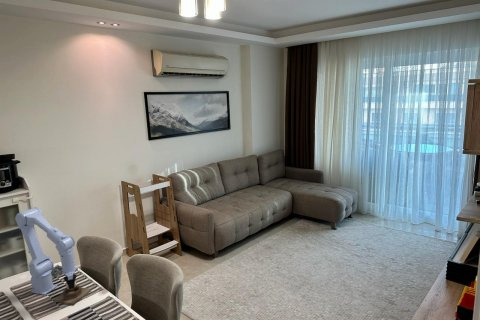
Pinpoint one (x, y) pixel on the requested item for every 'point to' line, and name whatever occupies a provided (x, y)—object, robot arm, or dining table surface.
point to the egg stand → (72, 295)
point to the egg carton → (56, 271)
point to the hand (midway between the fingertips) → (71, 285)
